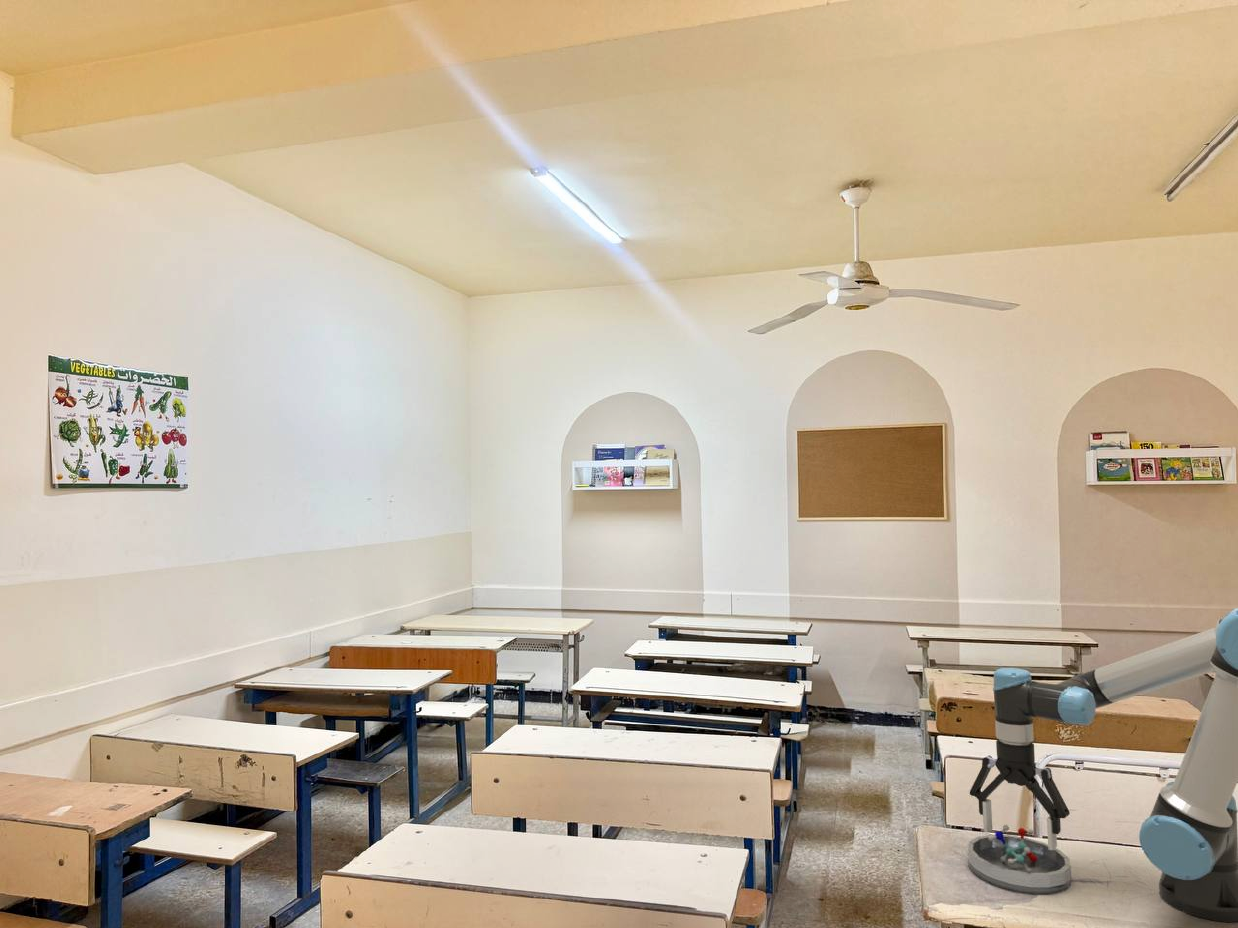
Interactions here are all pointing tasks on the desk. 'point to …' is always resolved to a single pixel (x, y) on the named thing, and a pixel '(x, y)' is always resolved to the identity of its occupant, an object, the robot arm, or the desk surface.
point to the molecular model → (1011, 850)
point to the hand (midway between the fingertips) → (1019, 839)
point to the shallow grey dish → (1020, 866)
